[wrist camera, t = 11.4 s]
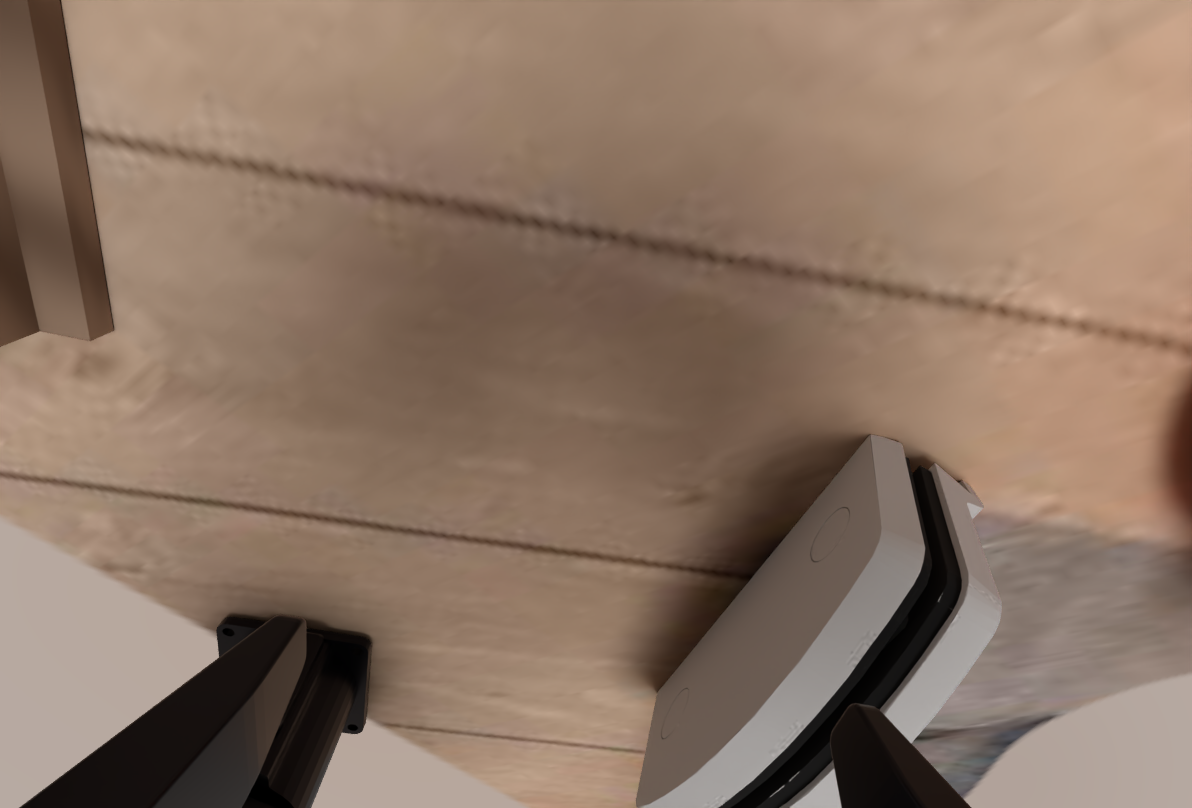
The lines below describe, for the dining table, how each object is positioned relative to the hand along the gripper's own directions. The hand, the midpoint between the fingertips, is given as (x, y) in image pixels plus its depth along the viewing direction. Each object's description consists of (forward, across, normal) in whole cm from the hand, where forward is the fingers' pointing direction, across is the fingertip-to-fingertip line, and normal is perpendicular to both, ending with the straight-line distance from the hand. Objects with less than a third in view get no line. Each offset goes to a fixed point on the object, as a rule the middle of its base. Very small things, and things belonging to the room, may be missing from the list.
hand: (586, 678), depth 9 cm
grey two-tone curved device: (+12, -10, +8) cm, 18 cm away
